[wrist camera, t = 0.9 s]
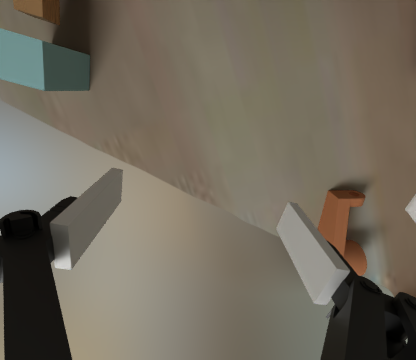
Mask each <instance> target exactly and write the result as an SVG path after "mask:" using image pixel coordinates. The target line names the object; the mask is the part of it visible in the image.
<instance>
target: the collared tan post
mask: <svg viewBox="0 0 416 360" xmlns="http://www.w3.org/2000/svg"><path fill="white" fill-rule="evenodd" d="M13 2H14V9H16V10H18V11H20V12H23V13H25V14H27V15H30V16H32V17H34V18H38V19H41V20H44V21H47V22H51V23H54V24H57V25H60V7H59V0H13Z"/></svg>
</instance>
